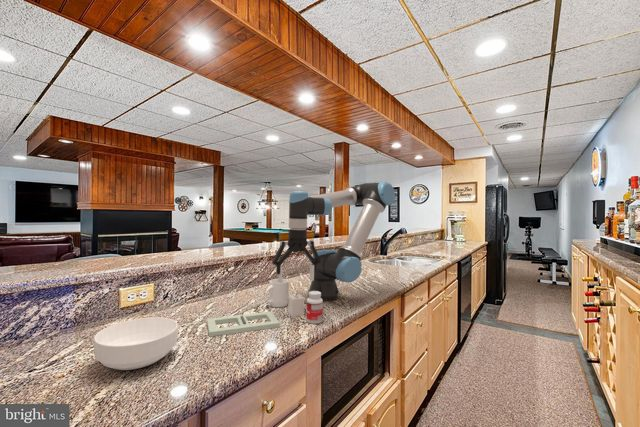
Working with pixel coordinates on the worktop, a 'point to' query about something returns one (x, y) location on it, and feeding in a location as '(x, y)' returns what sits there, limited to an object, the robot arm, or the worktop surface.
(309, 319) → the pill bottle
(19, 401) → the worktop surface
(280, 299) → the mug
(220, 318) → the faceplate
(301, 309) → the block
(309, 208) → the robot arm
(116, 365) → the bowl
